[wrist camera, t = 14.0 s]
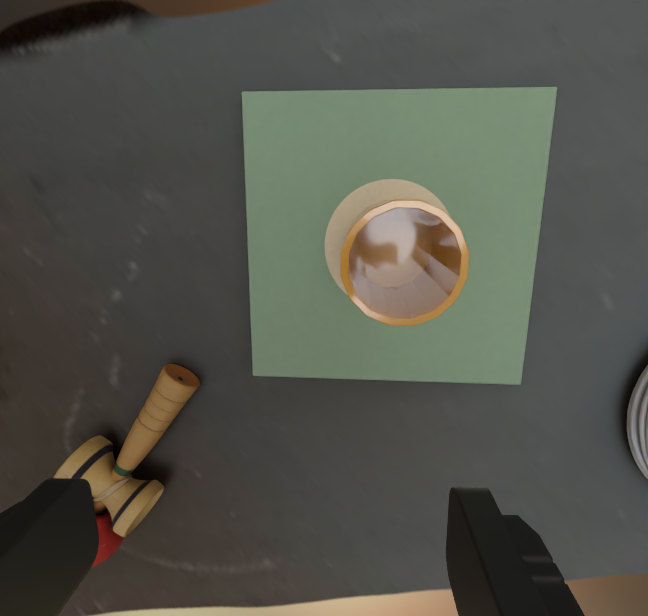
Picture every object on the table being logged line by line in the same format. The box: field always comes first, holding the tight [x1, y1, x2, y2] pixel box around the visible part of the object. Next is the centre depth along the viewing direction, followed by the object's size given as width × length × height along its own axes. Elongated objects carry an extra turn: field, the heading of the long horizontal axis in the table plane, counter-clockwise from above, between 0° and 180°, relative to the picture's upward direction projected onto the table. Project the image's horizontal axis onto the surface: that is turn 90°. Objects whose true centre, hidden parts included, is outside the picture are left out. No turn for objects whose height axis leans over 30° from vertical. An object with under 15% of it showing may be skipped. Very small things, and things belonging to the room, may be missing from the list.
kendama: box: [54, 364, 199, 567], centre depth 33 cm, size 8×6×18 cm
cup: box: [341, 200, 469, 326], centre depth 25 cm, size 6×6×9 cm
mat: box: [242, 87, 557, 385], centre depth 30 cm, size 20×20×1 cm
